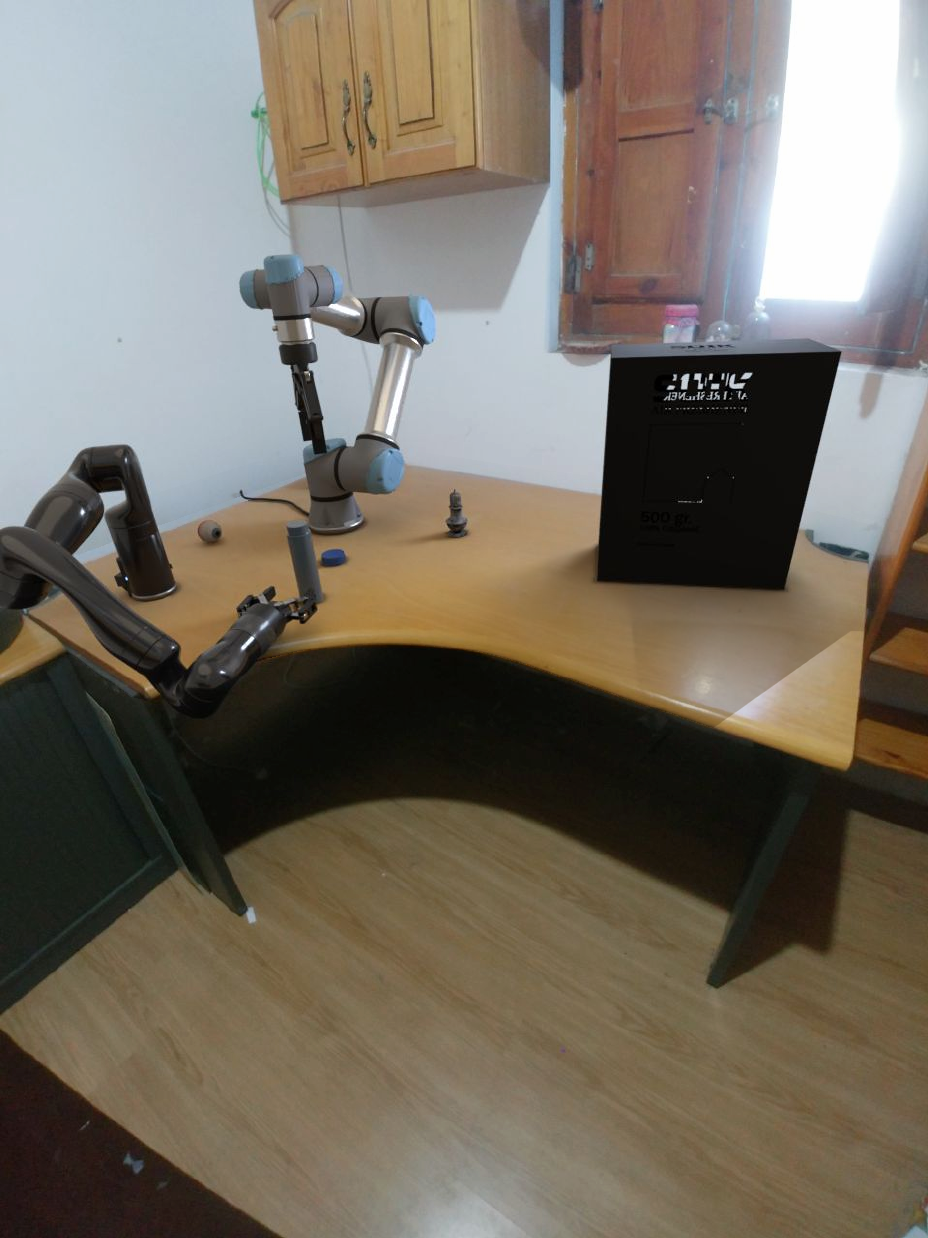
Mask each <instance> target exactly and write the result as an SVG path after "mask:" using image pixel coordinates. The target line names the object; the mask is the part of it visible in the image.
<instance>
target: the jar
mask: <svg viewBox="0 0 928 1238" xmlns="http://www.w3.org/2000/svg"><path fill="white" fill-rule="evenodd" d="M285 527H286V531H287V532H286V534H285V535H286V539H287V540H286V541H287V544H288V550H289V553H290V559H291V563H292V568H293V573H294V577H295V582H296V587H297V590H298V596H299V598H301V597H303V595H304V594H305V593H306V592H307V590H308V589H309V588H314V591H315V593H316V604H318V603H320V602H322V601H323V600H324V594H323V589H322V583H321V578H320V573H319V569H318V568H319V567H318V563H317V556H316V551H315V547H314V541H313V536H312V533H311V532H312V531H311V530H310V529H309V524H308V521H307V520H304V519H303V520H302V519H298V520H292V521H289V522H287V523H286V525H285ZM301 604H302V605H303V602H302V603H301Z"/></svg>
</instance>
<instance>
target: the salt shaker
mask: <svg viewBox="0 0 928 1238" xmlns="http://www.w3.org/2000/svg"><path fill="white" fill-rule="evenodd" d="M463 507H464V505H463V504H462V495H461V493H459V492H457V490H456V489H455V488H454V489H453V492H451V493H450V494H449V505H448V508H449V513H450V515H449V517H448V518H446V519H445V521H444V522H445V523H446V526H447V528H448V529H449V530H448V531H447V536H449V537H452V538H460V537H461V538H462V537H464V536H467V534H468V531H467V529H466V527H467V524H468V521H469V519H468V518H467V517H465V516H464V515H463Z"/></svg>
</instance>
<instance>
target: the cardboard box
mask: <svg viewBox="0 0 928 1238" xmlns="http://www.w3.org/2000/svg"><path fill="white" fill-rule="evenodd" d="M841 356H842V350H840V349H838V348H834V347H833V346H829V345H827V344H823V343H821V342H819V341H816V340H813V339H811V338H808V337H807V338H806V337H805V338H780V339H779V338H777V339H776V338H775V339H774V338H773V339H749V340H748V339H746V340H745V339H744V340H718V341H688V342H687V341H685V342H683V341H682V342H681V341H680V342H652V343H624V344H623V343H621V344H611V345H610V358H609V372H608V373H609V374H608V386H607V388H608V392H607V405H606V419H605V420H606V422H605V434H604V451H603V452H604V453H603V466H602V481H601V496H600V512H599V513H600V514H599V528H598V541H597V542H598V543H597V566H596V567H597V568H596V582H609V583H630V584H648V585H649V584H653V585H672V586H673V585H674V586H675V585H676V586H693V587H695V586H697V587H699V586H700V587H716V588H717V587H718V588H719V587H720V588H739V589H740V588H742V589H762V590H764V589H765V590H781V591H782V590H785V588H786V584H787V580H788V576H789V572H790V567H791V563H792V559H793V555H794V551H795V546H796V542H797V538H798V535H799V531H800V528H801V527H800V526H801V522H802V518H803V514H804V509H805V506H806V501H807V497H808V493H809V489H810V485H811V480H812V476H813V472H814V468H815V465H816V460H817V456H818V451H819V447H820V443H821V440H822V435H823V432H824V427H825V423H826V419H827V415H828V410H829V405H830V403H831V398H832V394H833V390H834V386H835V381H836V378H837V374H838V369H839V365H840V360H841ZM745 374H751V375H750V376H749V377H748V378H743V377H744V376H745ZM675 375H676V378H675ZM685 375H688V380H687V386H686V388H682V385H683V377H684V376H685ZM696 375H700V380H699V379H695V377H696ZM710 375H712V377H711V379H710ZM723 375H724V376H723ZM733 376H734V378H733V385H738V384H743V386H742V387H741V388H739V387H738V388H733V387H731V385H730V383H731V379H732V377H733ZM699 385H702V388H699ZM713 385H718V388H712V387H713ZM670 386H671V387H673V388H671V389H668V388H669V387H670Z"/></svg>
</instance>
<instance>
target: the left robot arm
mask: <svg viewBox="0 0 928 1238" xmlns="http://www.w3.org/2000/svg"><path fill="white" fill-rule="evenodd" d="M142 469H143V468H142V466H141V462H140V460H139V457H138V455H137V452H136V451H135V450H134V448H133V447H132V446H130V445H128V444H127V443H126V444H125V443H118V444H107V445H106V444H105V445H95V446H89V447H85V448H83V449H81V450H80V451H79V452H78V453H77V454H76V456H75V457H74V459H73V460H72V462H71V464H70V465H69V467H68V469H67V470H66V472H65V473H64V474H63V475H62V476H61V477H60V479H58V480H57V482H56V483H55V484H54V485H52V487H50V488H49V489H48V490H47V492H45V493H44V494H43V495H42V497H40V498H39V500H38V501H37V502H36V504H35V505H34V507H33V508H32V509H31V511H30V513H29V515H28V517H27V518H26V520H25V522H24V524H23V526H22V525H10V526H4V527H2V528H0V609H4V610H10V611H11V610H12V611H21V610H26V609H31V608H34V607H36V606H38V605H40V604H41V603H43V602H44V601H45V600H46V599H47V597H49V595H50V594H51V592H52V590H53V588H54V587H55V588H56V589H57V590H58V591H60V592H61V593H62V595H64V596H65V597H66V598H67V599H68V600H69V601H70V602H71V604H72V605H73V606H74V607H75V608H76V610H77V611H78V612H79V614H80V616H81V617H82V619H83V620H84V622H85V623H86V626H88V628H89V630H90V631H91V633H92V635H93V636H94V638H95V639H96V641H98V643H99V644H100V645H101V646H102V647H103V648H104V649H105V650H106V651H107V653H109V654H110V655H111V656H112V657H113V658H116V659H117V660H119V661H120V662H121V663H123V664H124V665H125V666H127V667H129V668H131V669H132V670H133V671H135V672H137V673H138V674H140V675H141V676H143V677H144V678H145V679H146V680H147V681H148V682H149V684H150V685H151V686H152V687H153V689H155V691H156V692H157V693H158V694H160V696H161V697H162V698H163V699H164V700H165V701H166V702H167V704H168V705H170V706H171V708H173V709H174V710H175V711H177V712H178V713H180V714H181V715H183V716H186V717H188V718H192V719H196V720H197V719H207V718H209V717H211V716H213V715H214V714H215V713H216V712H217V711H218V709H219V708H220V706H221V705H222V703H223V702H224V700H225V699H226V697H227V696H228V694H229V693H230V692H231V690H232V688H233V687H234V686H235V684H236V683H237V682H238V680H239V679H240V678H242V677H243V676H244V675H246V674H247V673H248V672H249V671H251V669H252V668H253V666H254V665H255V664H256V663H257V662H258V660H259V659H260V658H262V657H263V656H264V655H266V653H267V652H268V651H269V650H270V649H271V647H273V646H274V644H275V643H276V642H277V640H278V639H279V638H280V637H281V636H282V634H283V633H284V631H285V629H286V625H287V624H288V623H290V622H292V621H293V620H294V621H299V625H305V624H306V623H308V622H309V620H311V618H312V617H313V616H314V614H316V613H317V611H318V610H319V609H318V606H317V603H316V593H315V591H314V588H309V589H308V590H307V592H306V593H305V594H304V595H303V597H301V598H300V597H298V598H295V597H292V598H289V599H286V600H284V601H283V600H281V601H277V600H273V599H274V598H275V597H276V596H277V592H276V591H277V590H276V587H275V586H274V585H269V587H267V588H265V589H264V590H263V591H262V592H261V593H257V594H256V596H255V595H254V594H248V595H247V596H246V597H245V598H244V599H243V600H242V601H241V602H240V603H239V604H238V605H237V606H236V607H235V610H236V613H237V617H238V618H237V619H236V621H234V622H233V623H232V624H231V626H230V627H229V628H228V629H227V631H226V632H225V633H224V634H223V635H222V636H221V637H220V639H218V640H217V641H216V642H215V644H214V645H213V646H211V647H209V648H208V649H205V651H203V652H201V654H199V655H198V656H197V657H196V658H195V659H194V660H193V661H192V662H191V663H190V665H189V666H188V668H187V667H186V666H185V665H184V663H183V662H182V659H181V657H182V656H181V655H182V645H181V644H180V643H179V642H178V641H177V640H176V639H175V638H173V637H172V636H171V635H169V634H167V633H166V632H164V631H163V630H161V629H160V628H159V627H157V626H155V625H154V624H153V623H151V622H150V621H148V620H147V619H145V618H144V617H142V616H141V615H139V614H138V613H137V612H135V610H133V609H132V608H131V607H129V606H128V605H127V604H125V603H124V602H123V601H122V600H121V599H120V598H118V597H117V596H116V594H114V593H113V592H112V591H111V590H110V589H109V588H108V587H107V586H106V585H105V584H104V583H103V582H102V581H101V580H99V579H98V578H97V577H96V576H95V575H94V574H93V573H92V572H91V571H90V570H89V569H88V568H87V567H85V566H84V564H83V563H81V561H79V560H78V559H77V558H76V557H75V556H74V554H75V553H76V552H77V551H78V550H79V549H80V548H81V547H82V545H83V544H84V543H85V542H86V541H87V540H88V538H89V537H90V536H91V535H92V534H93V533H94V532H95V530H96V529H97V527H98V526H99V525H100V523H101V521H102V519H103V517H104V521H105V523H106V526H107V529H108V531H109V534H110V537H111V539H112V542H113V545H114V547H115V550H116V553H117V555H118V556H117V557H116V558H115V562H116V564H117V566H118V567H117V568H118V570H119V572H118V573H116V574H115V575H114V576H113V577H114V580H115V583H116V587H118V588H122V589H123V590H124V591H125V592H126V593H128V597H129V598H133V600H136V601H140V602H148V601H149V602H150V601H155V600H160V599H163V598H165V597H168V596H170V595H171V594H173V593H174V592H175V591H177V588H178V584H177V581H176V580H175V576H174V573H173V570H172V569H174V566H173V564H172V563H170V560H169V557H168V554H167V552H166V549H165V546H164V542H163V540H162V536H161V534H160V530H159V528H158V524H157V521H156V518H155V516H154V511H153V507H152V504H151V499H150V495H149V492H148V488H147V485H146V481H145V477H144V474H143V470H142ZM113 492H115V493H116V492H124V495H125V499H124V500H122V501H121V502H119V503H117V504H115V505H113V506H111V507H109V508H108V509H106V510H105V504H104V500H103V498H102V497H101V495H100V494H104V493H105V494H106V493H113ZM302 602H303V604H302ZM300 604H302V606H300ZM290 605H292V607H291V606H290ZM292 608H293V610H292Z"/></svg>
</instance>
